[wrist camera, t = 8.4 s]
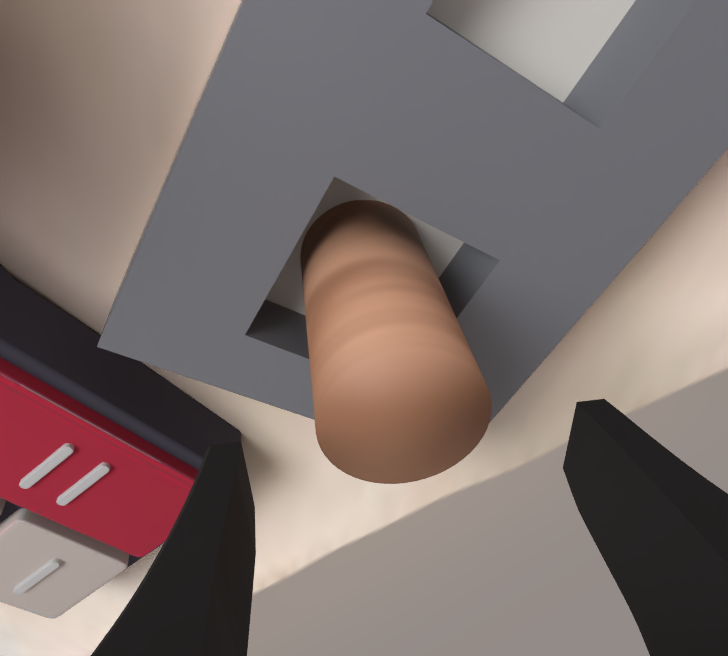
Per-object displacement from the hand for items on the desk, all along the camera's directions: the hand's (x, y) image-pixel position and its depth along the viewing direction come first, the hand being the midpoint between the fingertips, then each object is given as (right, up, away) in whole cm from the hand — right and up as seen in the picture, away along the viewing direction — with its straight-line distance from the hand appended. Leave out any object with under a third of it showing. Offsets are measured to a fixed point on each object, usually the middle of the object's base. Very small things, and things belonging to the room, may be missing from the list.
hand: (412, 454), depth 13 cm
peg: (-1, +5, +7) cm, 9 cm away
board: (+1, +9, +5) cm, 11 cm away
